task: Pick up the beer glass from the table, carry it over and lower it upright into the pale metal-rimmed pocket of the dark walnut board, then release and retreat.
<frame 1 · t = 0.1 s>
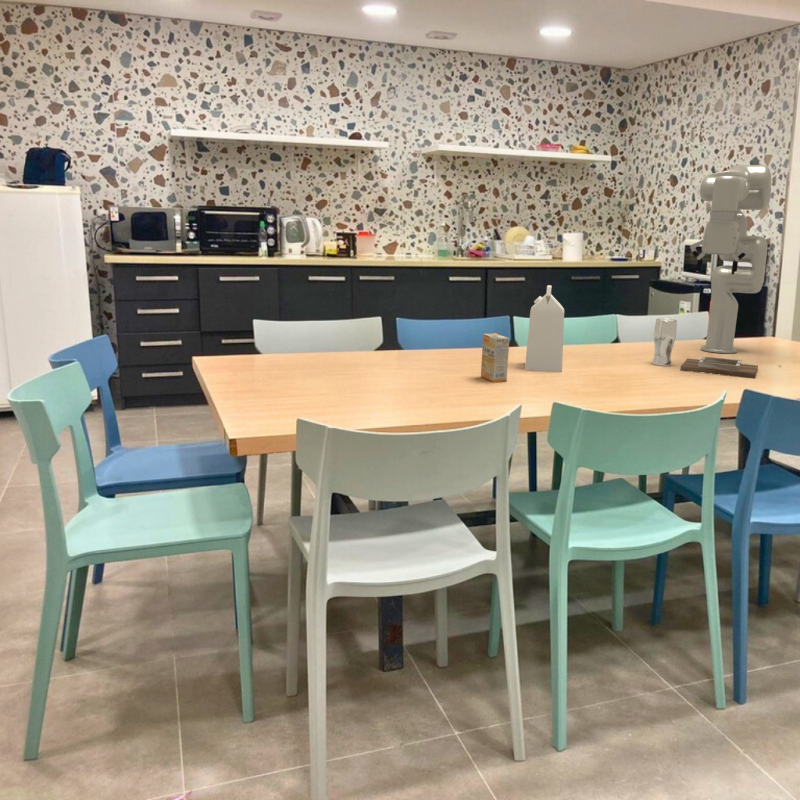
hand: (716, 273, 239), 31 cm above the table, fingers open, 9 cm apart
milk: (543, 368, 244), on the table
supplement box: (493, 380, 224), on the table
walnut board: (719, 370, 247), on the table
beer glass: (661, 364, 255), on the table
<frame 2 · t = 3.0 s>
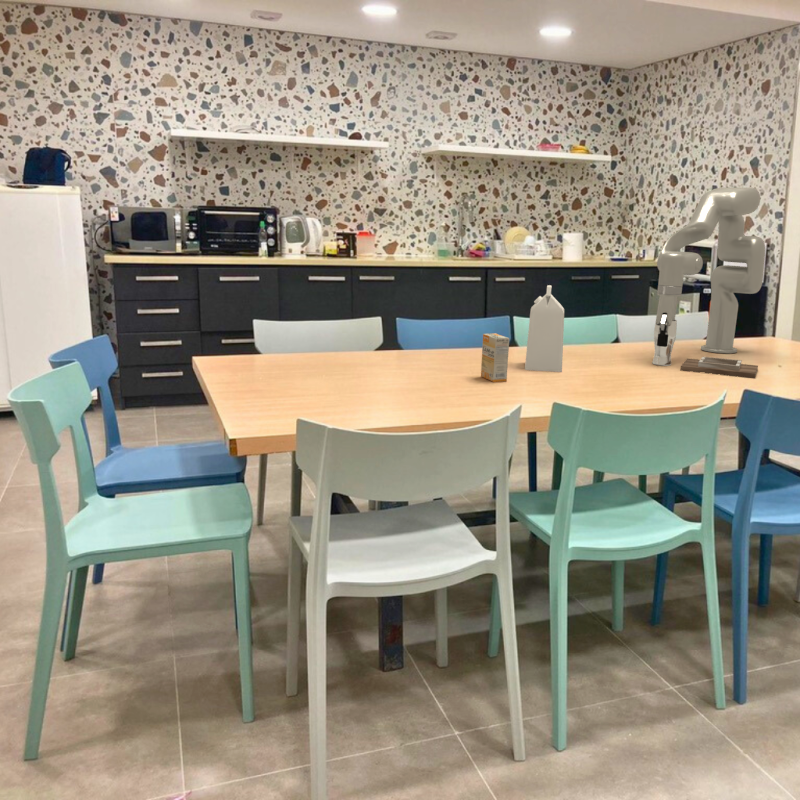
hand: (663, 344, 253), 7 cm above the table, fingers closed on beer glass, 6 cm apart
beer glass: (661, 364, 255), on the table, touching gripper
everything else where it was.
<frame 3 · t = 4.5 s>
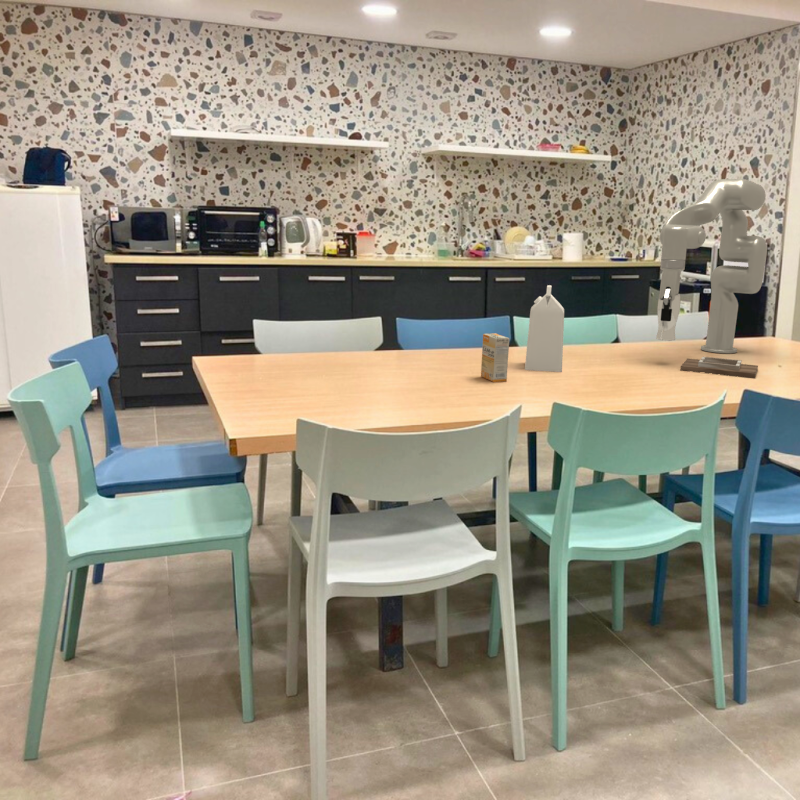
hand: (667, 319, 252), 15 cm above the table, fingers closed on beer glass, 6 cm apart
beer glass: (665, 339, 254), point 8 cm above the table, touching gripper
everything else where it was.
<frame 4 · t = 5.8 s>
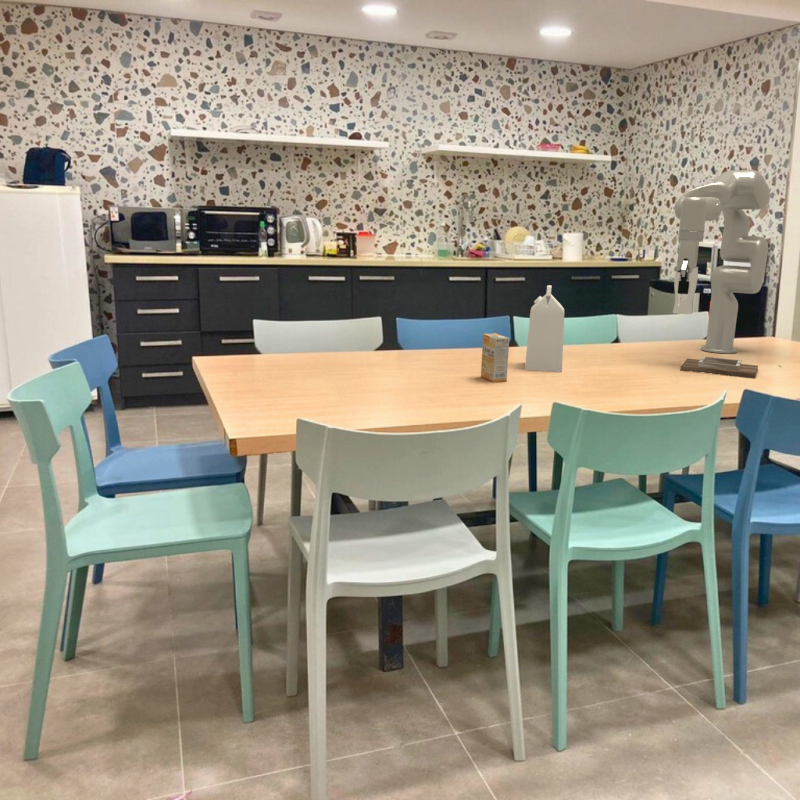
hand: (684, 292, 247), 24 cm above the table, fingers closed on beer glass, 6 cm apart
beer glass: (682, 313, 249), point 17 cm above the table, touching gripper
everything else where it was.
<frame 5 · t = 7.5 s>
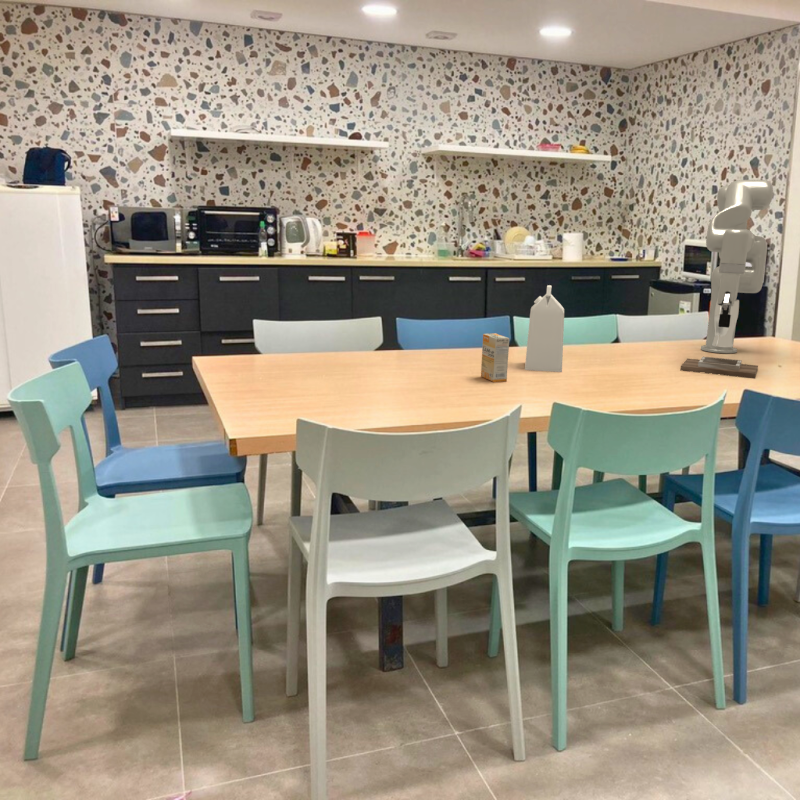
hand: (724, 325, 243), 15 cm above the table, fingers closed on beer glass, 6 cm apart
beer glass: (722, 346, 245), point 8 cm above the table, touching gripper
everything else where it was.
when the fingers open (9 cm above the table, at t = 8.9 s): beer glass stays where it is, resting on walnut board.
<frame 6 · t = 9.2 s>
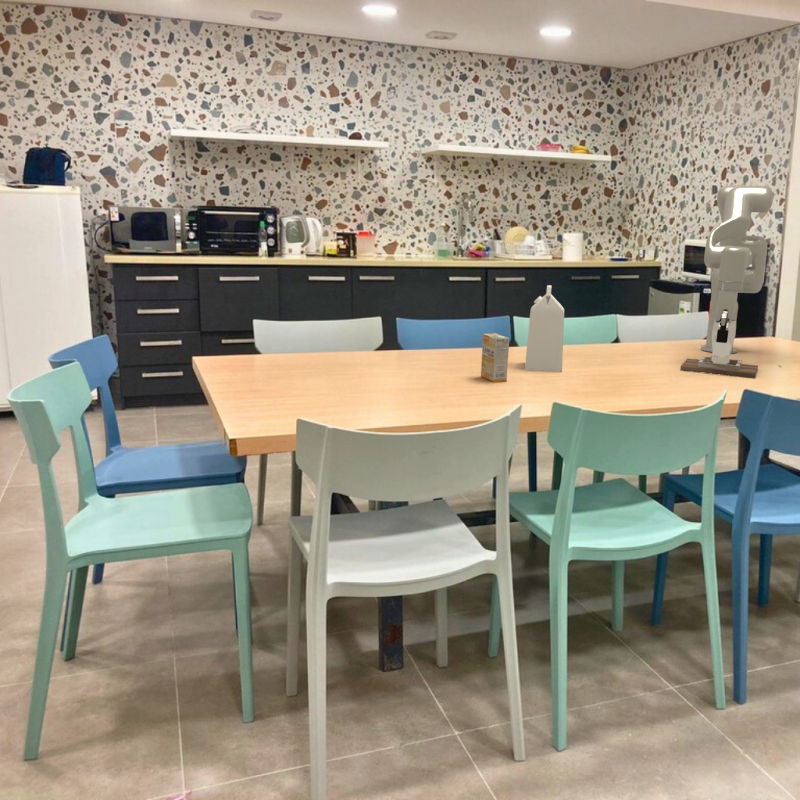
hand: (722, 340, 245), 10 cm above the table, fingers open, 9 cm apart
beer glass: (719, 366, 247), point 1 cm above the table, touching walnut board
everything else where it was.
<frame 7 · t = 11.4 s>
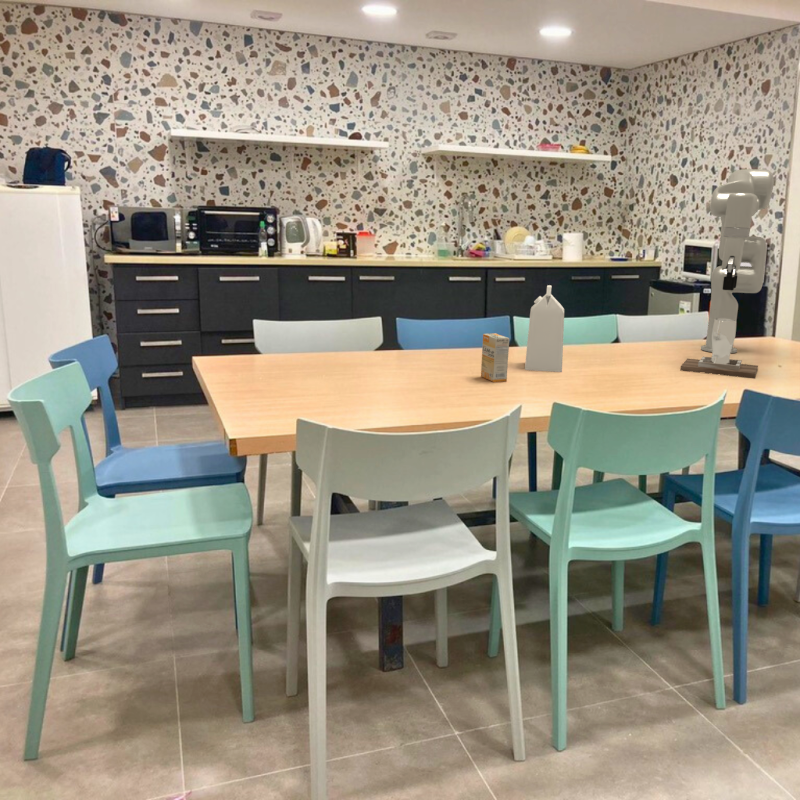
hand: (729, 288, 241), 26 cm above the table, fingers open, 9 cm apart
nothing on the table moved.
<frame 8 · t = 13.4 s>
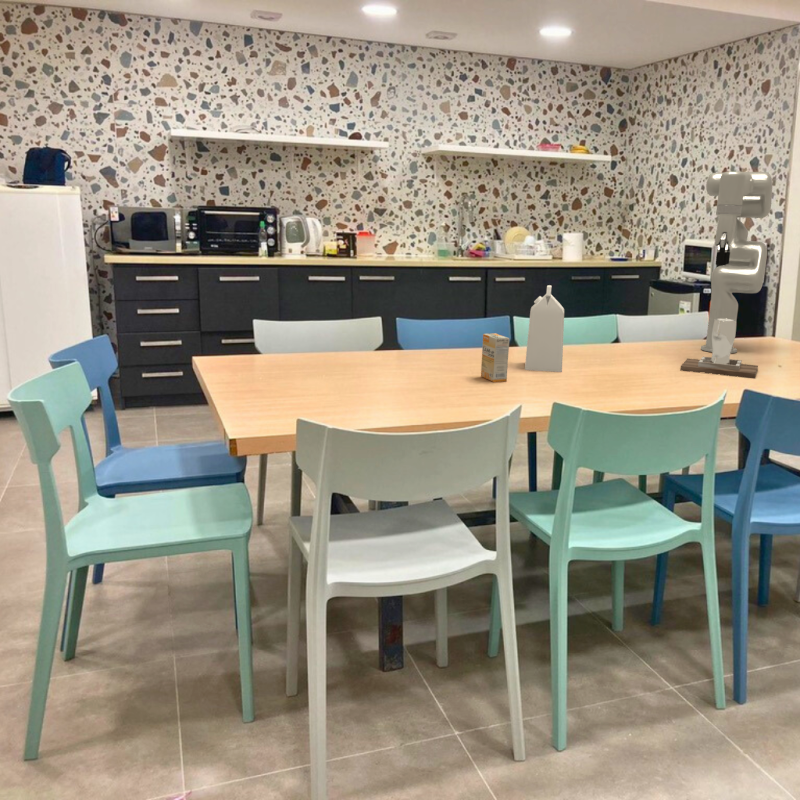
hand: (722, 264, 251), 33 cm above the table, fingers open, 9 cm apart
nothing on the table moved.
at the end: beer glass 0.2 cm off-centre on the walnut board, point 1.3 cm above the walnut board's base; beer glass tilted 0°; the gripper is holding nothing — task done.
